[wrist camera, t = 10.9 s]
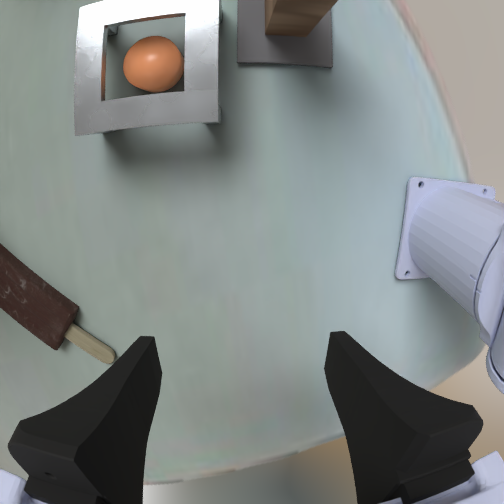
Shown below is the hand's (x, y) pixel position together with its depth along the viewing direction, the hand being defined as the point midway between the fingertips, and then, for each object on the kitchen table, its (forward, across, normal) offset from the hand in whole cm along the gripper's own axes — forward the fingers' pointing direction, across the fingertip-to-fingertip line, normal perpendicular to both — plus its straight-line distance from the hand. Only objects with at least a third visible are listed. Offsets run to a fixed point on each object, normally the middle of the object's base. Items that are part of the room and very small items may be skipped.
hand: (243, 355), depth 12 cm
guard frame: (+10, +5, -13) cm, 17 cm away
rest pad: (+10, -3, -16) cm, 19 cm away
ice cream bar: (+11, +17, +5) cm, 21 cm away
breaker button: (+11, +5, -13) cm, 18 cm away
